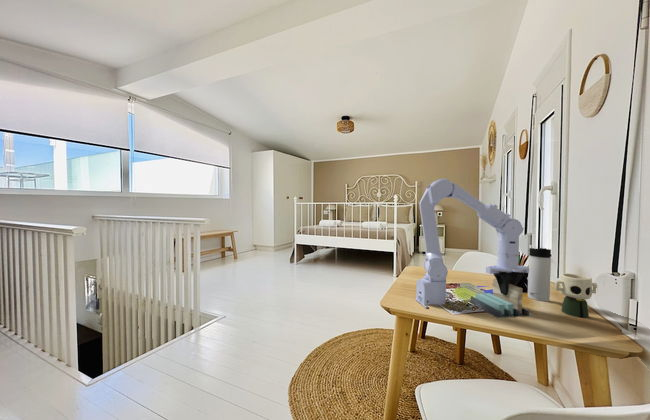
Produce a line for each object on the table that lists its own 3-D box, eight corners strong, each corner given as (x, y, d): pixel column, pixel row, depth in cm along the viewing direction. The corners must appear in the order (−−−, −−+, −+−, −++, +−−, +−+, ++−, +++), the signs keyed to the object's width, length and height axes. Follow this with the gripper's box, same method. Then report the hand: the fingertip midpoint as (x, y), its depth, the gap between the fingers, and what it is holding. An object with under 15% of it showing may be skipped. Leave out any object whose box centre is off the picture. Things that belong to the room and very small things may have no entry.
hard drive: (511, 297, 95) (498, 287, 107) (486, 295, 97) (476, 285, 109) (510, 301, 95) (498, 291, 107) (485, 299, 97) (476, 289, 109)
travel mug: (531, 302, 93) (533, 248, 92) (525, 296, 99) (526, 245, 98) (553, 305, 90) (555, 249, 90) (545, 299, 97) (546, 246, 96)
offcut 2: (507, 313, 81) (508, 304, 81) (484, 301, 91) (484, 293, 91) (513, 313, 81) (513, 304, 81) (489, 301, 91) (489, 293, 91)
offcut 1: (498, 314, 80) (498, 305, 80) (475, 302, 90) (476, 293, 90) (504, 314, 81) (504, 304, 80) (481, 301, 90) (481, 293, 90)
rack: (496, 320, 78) (497, 312, 78) (465, 303, 92) (466, 296, 92) (534, 318, 80) (534, 310, 80) (498, 301, 94) (498, 294, 94)
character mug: (561, 319, 80) (562, 277, 79) (547, 310, 86) (549, 272, 86) (604, 323, 77) (606, 280, 76) (587, 313, 84) (588, 274, 83)
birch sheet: (517, 313, 81) (518, 288, 81) (492, 301, 91) (493, 279, 91) (521, 313, 81) (522, 288, 81) (496, 301, 91) (497, 279, 91)
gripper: (498, 256, 81) (496, 299, 81) (538, 256, 83) (537, 297, 83) (481, 252, 88) (480, 291, 88) (519, 251, 90) (518, 290, 90)
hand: (506, 294), depth 86 cm, fingers closed on birch sheet, 2 cm apart
